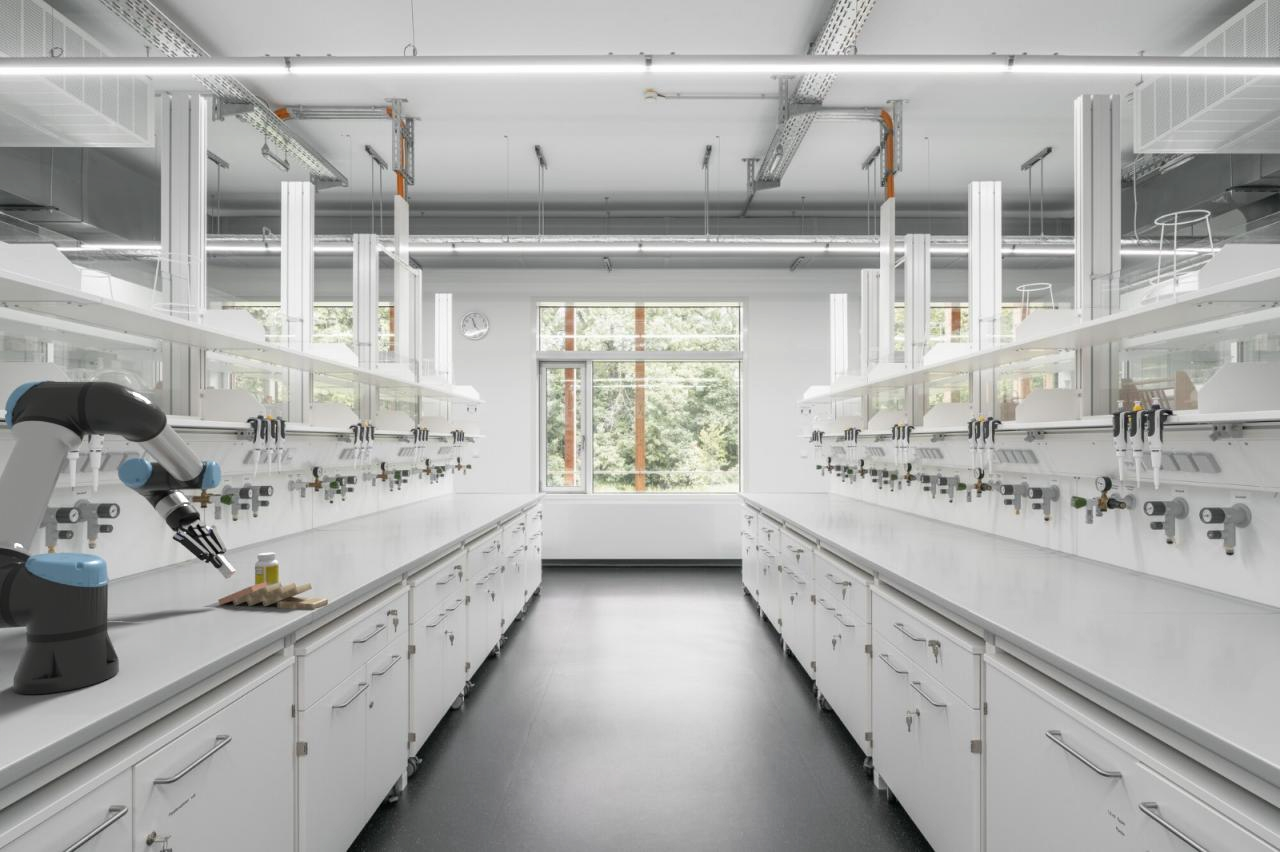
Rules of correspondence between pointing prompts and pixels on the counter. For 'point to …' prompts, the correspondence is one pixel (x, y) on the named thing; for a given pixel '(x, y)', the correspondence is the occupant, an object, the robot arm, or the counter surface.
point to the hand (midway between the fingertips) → (230, 574)
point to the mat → (244, 606)
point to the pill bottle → (267, 569)
